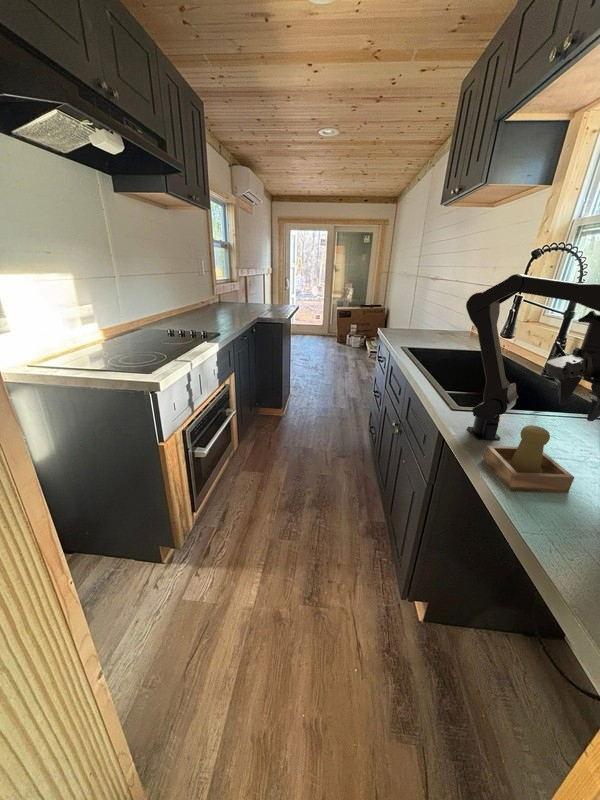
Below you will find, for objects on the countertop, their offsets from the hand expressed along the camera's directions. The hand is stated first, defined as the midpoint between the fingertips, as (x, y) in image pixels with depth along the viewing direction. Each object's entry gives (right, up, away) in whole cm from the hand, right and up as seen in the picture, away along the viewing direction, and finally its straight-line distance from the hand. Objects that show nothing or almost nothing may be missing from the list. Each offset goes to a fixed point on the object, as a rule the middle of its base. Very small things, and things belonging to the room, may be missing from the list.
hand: (575, 412), depth 76 cm
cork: (-13, -14, -1) cm, 19 cm away
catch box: (-13, -14, -1) cm, 19 cm away
